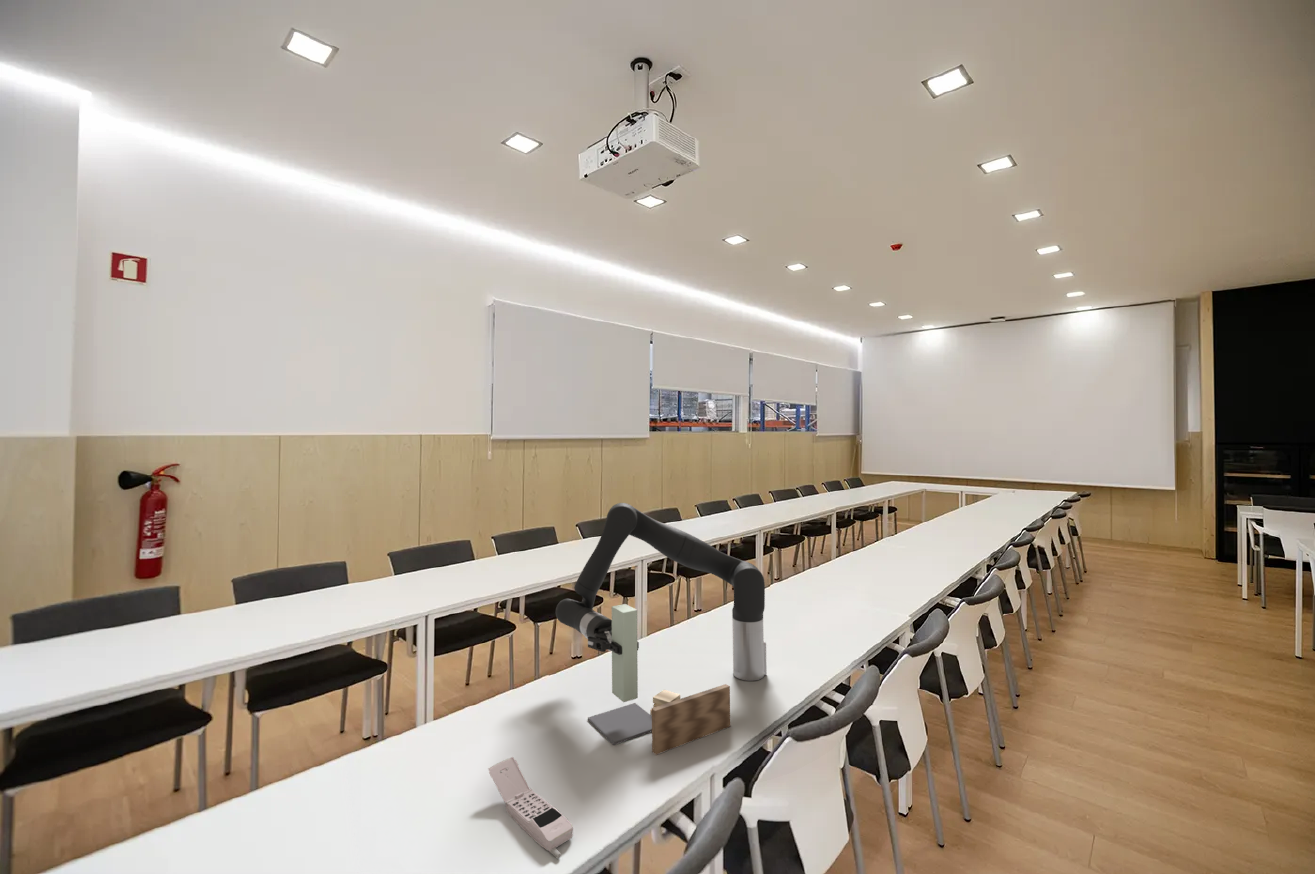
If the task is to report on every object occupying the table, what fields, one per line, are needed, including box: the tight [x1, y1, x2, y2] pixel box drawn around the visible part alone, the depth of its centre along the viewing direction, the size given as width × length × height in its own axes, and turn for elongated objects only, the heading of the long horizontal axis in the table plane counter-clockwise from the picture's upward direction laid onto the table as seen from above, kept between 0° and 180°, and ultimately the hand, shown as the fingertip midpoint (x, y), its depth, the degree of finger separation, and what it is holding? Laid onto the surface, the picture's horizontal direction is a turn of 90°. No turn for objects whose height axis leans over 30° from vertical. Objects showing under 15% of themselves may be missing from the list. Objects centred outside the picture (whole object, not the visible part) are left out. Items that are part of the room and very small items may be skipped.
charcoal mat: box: [587, 702, 652, 746], centre depth 140 cm, size 14×14×1 cm
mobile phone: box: [487, 756, 574, 859], centre depth 105 cm, size 6×6×25 cm
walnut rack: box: [651, 683, 731, 756], centre depth 135 cm, size 22×8×10 cm, turn 123°
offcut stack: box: [649, 689, 681, 716], centre depth 145 cm, size 7×7×4 cm
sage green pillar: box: [611, 603, 639, 703], centre depth 139 cm, size 4×6×22 cm, turn 33°
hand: (629, 648), depth 137 cm, fingers closed on sage green pillar, 4 cm apart
